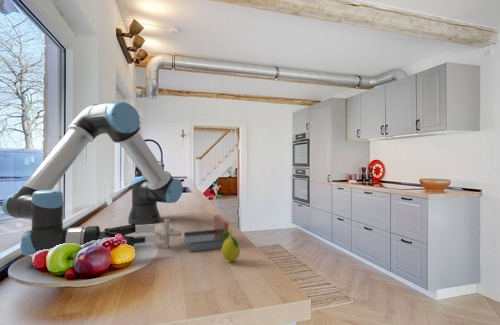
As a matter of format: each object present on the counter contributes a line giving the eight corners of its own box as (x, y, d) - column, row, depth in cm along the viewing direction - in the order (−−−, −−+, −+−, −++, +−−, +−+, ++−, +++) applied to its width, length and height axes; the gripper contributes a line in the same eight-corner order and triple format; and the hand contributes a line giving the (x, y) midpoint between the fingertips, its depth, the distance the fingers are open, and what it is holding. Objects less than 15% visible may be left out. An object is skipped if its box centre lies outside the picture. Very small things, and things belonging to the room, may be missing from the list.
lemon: (220, 258, 84) (220, 227, 84) (238, 257, 84) (239, 226, 84) (220, 266, 77) (220, 232, 77) (240, 266, 77) (240, 232, 77)
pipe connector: (176, 252, 88) (176, 223, 88) (146, 252, 89) (147, 222, 89) (184, 243, 98) (184, 216, 98) (157, 242, 99) (158, 216, 99)
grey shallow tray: (184, 240, 102) (184, 217, 102) (217, 237, 107) (217, 215, 107) (190, 252, 89) (190, 225, 89) (228, 247, 94) (228, 222, 94)
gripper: (91, 239, 95) (153, 233, 103) (74, 264, 72) (156, 255, 80) (92, 218, 95) (154, 214, 103) (75, 237, 72) (156, 230, 80)
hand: (155, 232), depth 91 cm, fingers open, 13 cm apart
